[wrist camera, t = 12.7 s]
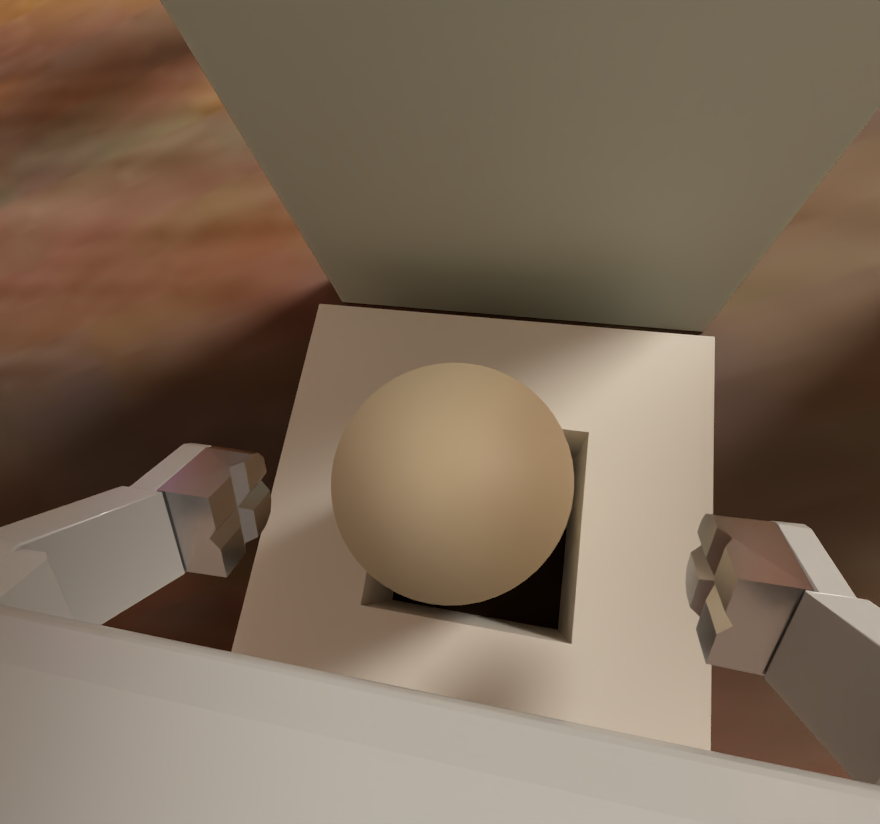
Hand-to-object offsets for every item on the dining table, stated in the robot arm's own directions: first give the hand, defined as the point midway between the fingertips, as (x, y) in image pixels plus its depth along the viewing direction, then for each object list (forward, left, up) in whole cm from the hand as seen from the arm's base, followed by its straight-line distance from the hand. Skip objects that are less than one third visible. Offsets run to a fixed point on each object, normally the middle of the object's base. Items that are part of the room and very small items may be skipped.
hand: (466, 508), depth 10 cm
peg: (0, 0, -9) cm, 9 cm away
